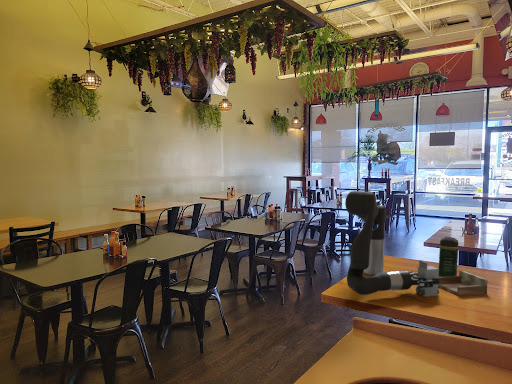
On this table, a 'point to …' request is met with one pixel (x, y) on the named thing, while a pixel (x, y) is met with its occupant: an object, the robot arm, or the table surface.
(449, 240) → the coffee jar
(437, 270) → the grey upright block
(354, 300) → the table surface
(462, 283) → the tray
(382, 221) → the robot arm
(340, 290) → the table surface
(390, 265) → the table surface
